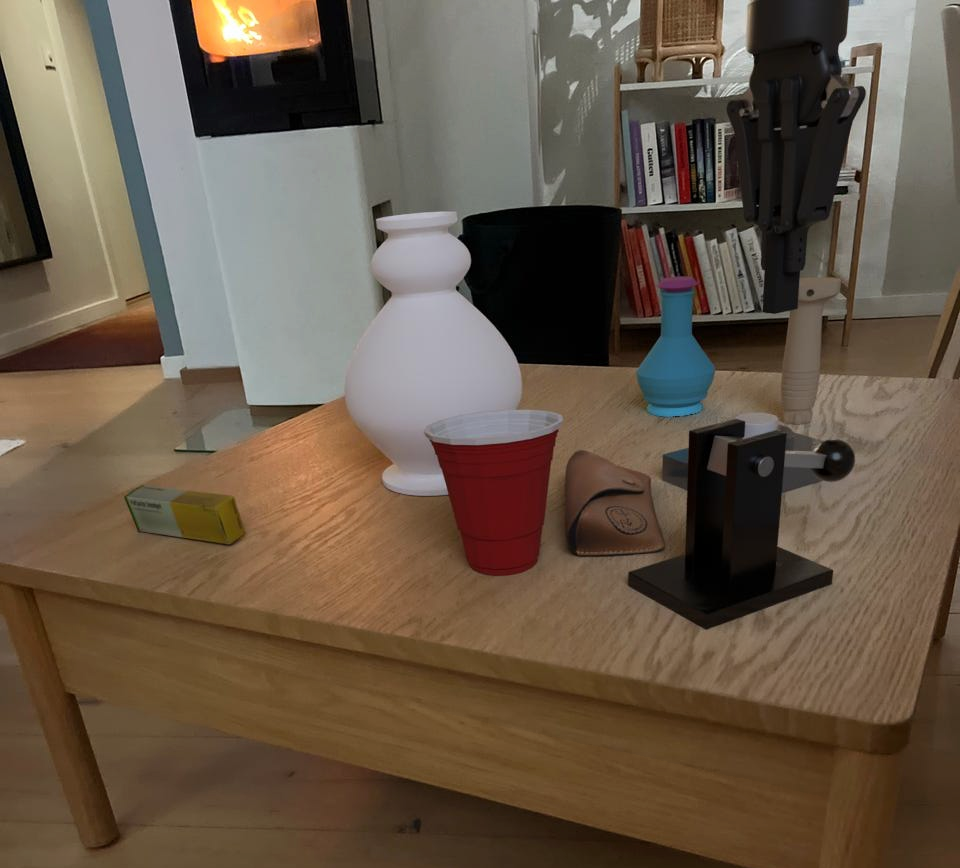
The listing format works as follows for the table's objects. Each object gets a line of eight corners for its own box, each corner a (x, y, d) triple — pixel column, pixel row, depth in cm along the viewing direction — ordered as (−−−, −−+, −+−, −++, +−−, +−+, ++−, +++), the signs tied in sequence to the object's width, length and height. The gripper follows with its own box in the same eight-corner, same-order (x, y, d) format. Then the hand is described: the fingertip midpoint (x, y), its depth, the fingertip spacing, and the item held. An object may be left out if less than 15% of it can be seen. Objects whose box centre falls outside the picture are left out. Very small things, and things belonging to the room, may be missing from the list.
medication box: (135, 533, 90) (121, 495, 88) (155, 521, 92) (141, 483, 90) (229, 546, 85) (215, 506, 83) (248, 532, 87) (235, 493, 84)
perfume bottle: (649, 397, 119) (650, 273, 112) (721, 401, 115) (727, 271, 108) (626, 417, 112) (626, 285, 105) (702, 421, 108) (707, 284, 101)
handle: (765, 416, 108) (775, 279, 101) (823, 415, 107) (838, 276, 100) (768, 428, 104) (778, 286, 97) (828, 427, 103) (844, 283, 96)
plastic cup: (553, 529, 83) (547, 393, 77) (582, 578, 73) (578, 428, 68) (432, 544, 82) (417, 408, 76) (445, 596, 72) (429, 445, 67)
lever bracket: (747, 547, 76) (756, 403, 71) (832, 584, 69) (850, 427, 64) (627, 585, 72) (627, 435, 66) (706, 630, 65) (713, 465, 59)
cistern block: (769, 451, 97) (772, 408, 95) (844, 475, 89) (850, 428, 87) (661, 480, 92) (662, 436, 90) (732, 509, 84) (734, 460, 82)
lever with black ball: (824, 476, 73) (836, 435, 72) (857, 487, 71) (869, 444, 70) (700, 473, 67) (710, 428, 66) (731, 484, 64) (742, 438, 63)
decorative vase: (486, 440, 108) (469, 203, 97) (555, 482, 94) (545, 209, 82) (338, 469, 103) (300, 222, 91) (387, 518, 88) (349, 231, 76)
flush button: (755, 427, 91) (757, 410, 90) (786, 436, 88) (787, 418, 87) (724, 436, 89) (725, 418, 89) (753, 445, 86) (754, 426, 85)
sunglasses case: (672, 547, 76) (630, 482, 74) (598, 590, 78) (555, 528, 76) (651, 475, 92) (616, 420, 89) (590, 513, 94) (554, 459, 92)
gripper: (703, 4, 75) (698, 310, 86) (828, -26, 65) (803, 326, 76) (773, 1, 78) (759, 297, 89) (903, -29, 68) (869, 311, 79)
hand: (779, 310), depth 83 cm, fingers closed
